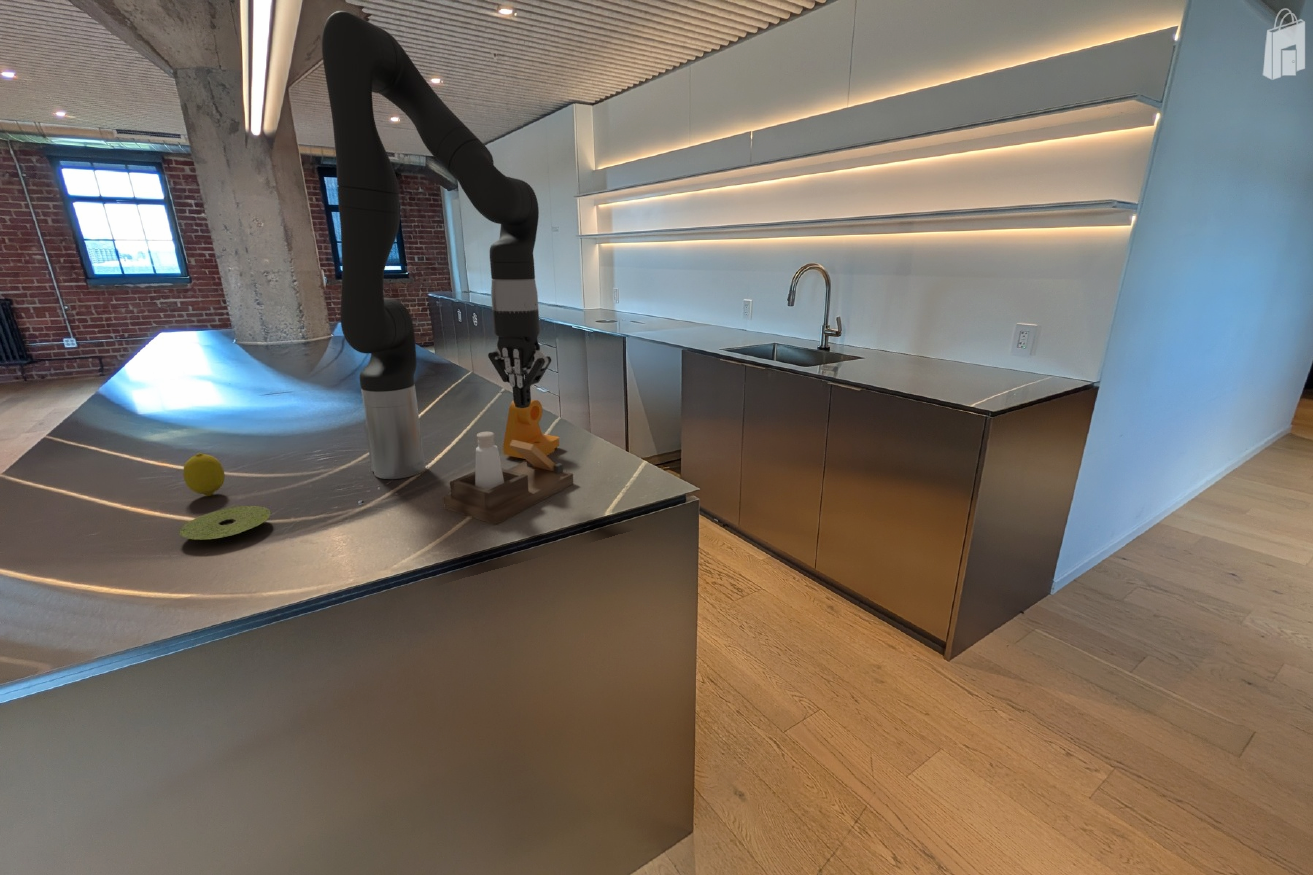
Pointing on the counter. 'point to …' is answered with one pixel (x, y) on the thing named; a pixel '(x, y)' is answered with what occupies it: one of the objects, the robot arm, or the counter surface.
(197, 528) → the green abrasive disc
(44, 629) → the counter surface
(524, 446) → the tan flat block
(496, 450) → the salt shaker
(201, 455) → the lemon
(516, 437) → the bracket
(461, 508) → the brown open tray piece
